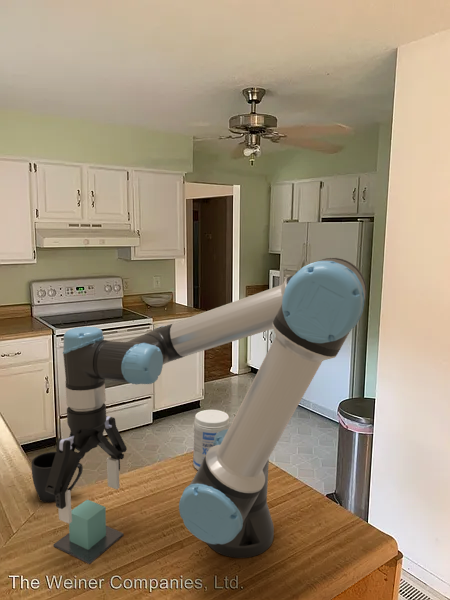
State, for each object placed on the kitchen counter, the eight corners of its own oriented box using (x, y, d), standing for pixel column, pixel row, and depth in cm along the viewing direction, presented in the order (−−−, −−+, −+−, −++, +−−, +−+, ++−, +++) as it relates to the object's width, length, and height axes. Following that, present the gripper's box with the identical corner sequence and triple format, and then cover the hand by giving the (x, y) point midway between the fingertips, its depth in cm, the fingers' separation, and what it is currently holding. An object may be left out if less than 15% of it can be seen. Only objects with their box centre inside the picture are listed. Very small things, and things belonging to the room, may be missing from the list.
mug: (74, 509, 109) (73, 471, 108) (26, 504, 111) (24, 466, 109) (89, 489, 117) (88, 454, 116) (43, 485, 119) (42, 450, 117)
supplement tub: (203, 478, 124) (204, 425, 122) (187, 462, 132) (187, 412, 130) (234, 469, 129) (236, 418, 127) (216, 454, 137) (218, 406, 135)
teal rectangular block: (106, 535, 100) (105, 506, 99) (88, 549, 95) (87, 520, 94) (87, 527, 102) (87, 499, 101) (69, 541, 98) (68, 512, 97)
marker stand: (123, 535, 101) (123, 509, 100) (89, 564, 92) (88, 536, 91) (89, 520, 105) (88, 495, 104) (53, 546, 97) (52, 519, 96)
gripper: (114, 383, 106) (118, 471, 110) (20, 423, 85) (27, 531, 88) (140, 389, 103) (143, 479, 106) (49, 432, 81) (56, 543, 84)
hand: (91, 503), depth 97 cm, fingers open, 13 cm apart
